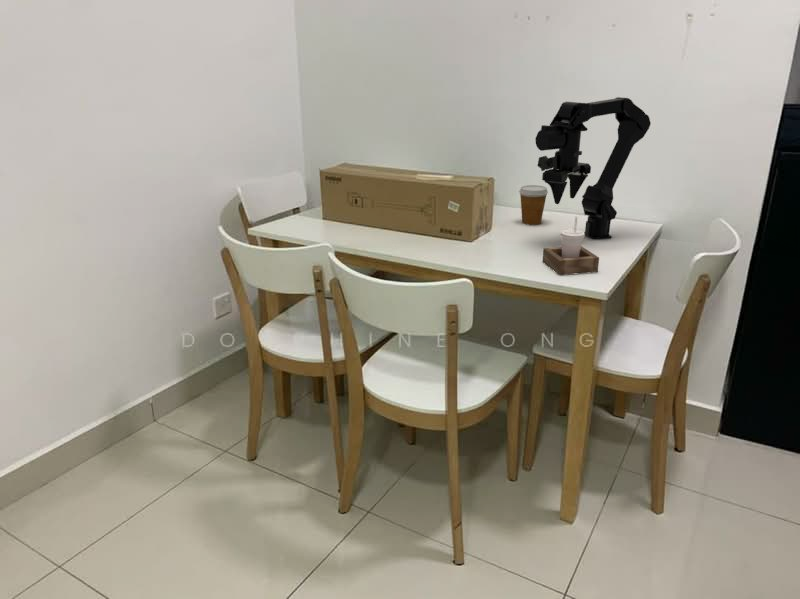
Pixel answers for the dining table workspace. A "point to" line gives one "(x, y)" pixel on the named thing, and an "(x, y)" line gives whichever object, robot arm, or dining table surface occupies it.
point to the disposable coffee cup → (532, 203)
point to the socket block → (570, 261)
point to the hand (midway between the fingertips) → (564, 201)
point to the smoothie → (571, 241)
